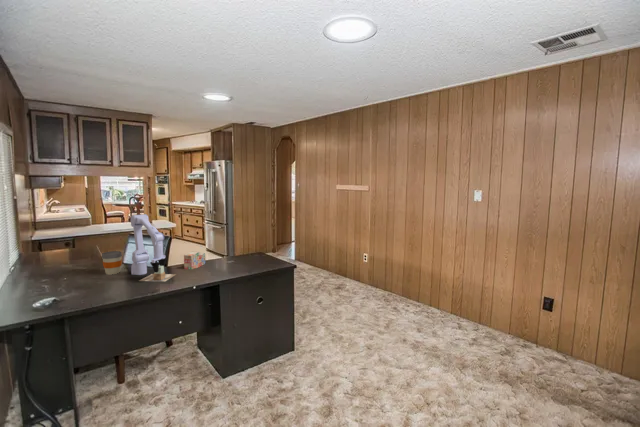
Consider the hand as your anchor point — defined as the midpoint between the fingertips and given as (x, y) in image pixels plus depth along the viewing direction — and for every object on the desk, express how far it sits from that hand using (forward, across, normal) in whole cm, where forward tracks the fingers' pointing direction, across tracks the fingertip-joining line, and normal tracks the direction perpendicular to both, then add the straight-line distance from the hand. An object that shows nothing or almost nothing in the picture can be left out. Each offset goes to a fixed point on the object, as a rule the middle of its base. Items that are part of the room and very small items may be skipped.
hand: (159, 270), depth 219 cm
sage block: (+2, 0, 0) cm, 2 cm away
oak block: (+6, 0, 0) cm, 6 cm away
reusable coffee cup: (+7, +16, +43) cm, 46 cm away
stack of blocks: (+8, +36, -10) cm, 38 cm away
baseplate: (+7, +4, +3) cm, 9 cm away
